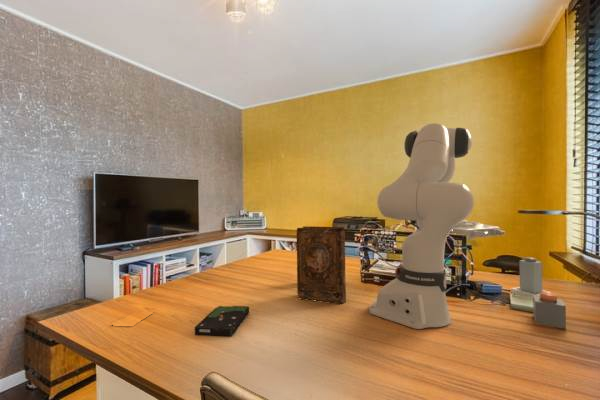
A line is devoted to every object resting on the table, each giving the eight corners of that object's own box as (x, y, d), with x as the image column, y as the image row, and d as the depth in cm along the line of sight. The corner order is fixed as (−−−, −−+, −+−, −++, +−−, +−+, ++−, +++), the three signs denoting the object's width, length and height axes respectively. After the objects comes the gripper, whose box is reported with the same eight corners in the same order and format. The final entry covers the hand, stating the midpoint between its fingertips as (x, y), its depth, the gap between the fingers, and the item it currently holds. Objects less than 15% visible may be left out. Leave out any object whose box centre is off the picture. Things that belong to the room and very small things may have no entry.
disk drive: (232, 339, 71) (249, 314, 85) (232, 328, 71) (249, 305, 85) (194, 337, 72) (217, 313, 87) (193, 327, 72) (217, 304, 86)
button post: (535, 323, 75) (535, 301, 75) (533, 315, 80) (533, 294, 80) (566, 329, 71) (565, 305, 71) (561, 320, 76) (561, 298, 76)
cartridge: (519, 294, 97) (519, 257, 97) (528, 292, 98) (527, 256, 98) (534, 298, 93) (533, 260, 92) (542, 296, 94) (542, 258, 94)
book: (347, 299, 95) (346, 227, 95) (343, 305, 90) (342, 228, 90) (303, 293, 101) (302, 226, 101) (297, 299, 96) (296, 227, 96)
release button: (540, 315, 75) (540, 295, 75) (539, 311, 78) (538, 291, 78) (558, 319, 73) (558, 297, 73) (556, 314, 76) (556, 293, 76)
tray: (511, 308, 85) (511, 303, 85) (510, 298, 93) (509, 293, 93) (554, 315, 79) (554, 310, 79) (549, 304, 87) (549, 299, 87)
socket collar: (510, 293, 98) (510, 288, 98) (526, 290, 100) (525, 285, 100) (536, 301, 90) (536, 295, 90) (552, 297, 93) (552, 292, 93)
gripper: (445, 224, 116) (475, 227, 103) (480, 222, 123) (513, 224, 110) (445, 239, 116) (475, 244, 103) (480, 236, 123) (513, 240, 110)
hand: (495, 234), depth 107 cm, fingers open, 8 cm apart
